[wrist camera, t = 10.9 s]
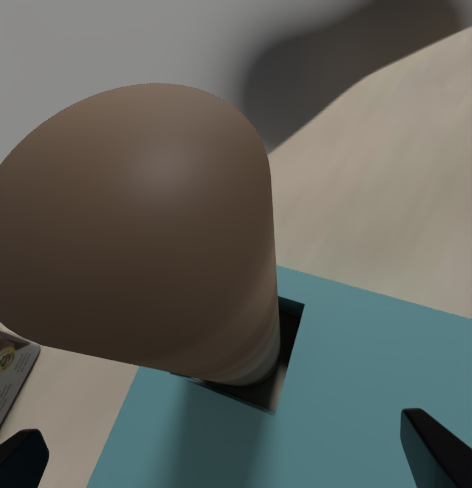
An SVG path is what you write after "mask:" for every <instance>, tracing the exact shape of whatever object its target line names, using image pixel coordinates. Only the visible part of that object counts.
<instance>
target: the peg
mask: <svg viewBox="0 0 472 488" xmlns="http://www.w3.org/2000/svg"><path fill="white" fill-rule="evenodd" d="M0 322H1V323H2V324H3V325H4V326H5V327H7V328H8V329H10V330H11V331H13V332H14V333H16V334H18V335H19V336H21V337H23V338H25V339H27V340H30V341H32V342H35V343H38V344H40V345H43V346H48V347H52V348H57V349H62V350H67V351H71V352H76V353H81V354H86V355H90V356H95V357H100V358H105V359H109V360H114V361H119V362H123V363H128V364H133V365H138V366H142V367H147V368H152V369H157V370H161V371H166V372H171V373H176V374H180V375H185V376H190V377H195V378H199V379H204V380H209V381H213V382H218V383H223V384H228V385H232V386H237V387H252V386H256V385H258V384H260V383H262V382H264V381H265V380H266V379H268V378H269V377H270V376H271V375H272V373H273V372H274V371H275V369H276V367H277V365H278V362H279V359H280V354H281V342H280V325H279V308H278V291H277V274H276V257H275V239H274V222H273V205H272V188H271V174H270V167H269V161H268V157H267V154H266V151H265V148H264V145H263V143H262V141H261V139H260V137H259V135H258V133H257V131H256V130H255V129H254V127H253V126H252V125H251V123H250V122H249V121H248V119H247V118H246V117H245V116H243V115H242V114H241V113H240V112H239V111H238V110H237V109H236V108H235V107H233V106H232V105H230V104H229V103H227V102H226V101H225V100H223V99H221V98H219V97H217V96H215V95H213V94H211V93H208V92H205V91H202V90H200V89H197V88H192V87H188V86H183V85H176V84H162V83H161V84H160V83H150V84H139V85H132V86H126V87H120V88H116V89H113V90H109V91H105V92H102V93H99V94H96V95H94V96H91V97H88V98H86V99H84V100H82V101H79V102H77V103H75V104H73V105H71V106H69V107H67V108H66V109H64V110H62V111H60V112H58V113H57V114H56V115H54V116H52V117H51V118H49V119H48V120H46V121H45V122H43V123H42V124H41V125H40V126H38V127H37V128H36V129H34V130H33V131H32V132H31V133H30V134H28V135H27V136H26V137H25V138H24V139H23V140H22V141H21V142H20V143H19V144H18V145H17V146H16V147H15V148H14V149H13V150H12V151H11V153H10V154H9V155H8V156H7V157H6V158H5V159H4V161H3V162H2V163H1V165H0Z"/></svg>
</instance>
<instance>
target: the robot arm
mask: <svg viewBox="0 0 472 488" xmlns="http://www.w3.org/2000/svg"><path fill="white" fill-rule="evenodd" d="M400 439H401V444H402V447H403V450H404V453H405V456H406V458H407V461H408V464H409V467H410V470H411V472H412V475H413V478H414V481H415V484H416V486H417V488H472V448H470V447H469V446H468V445H467V444H465V443H464V442H463V441H462V440H461V439H459V438H458V437H457V436H456V435H454V434H453V433H452V432H451V431H449V430H448V429H447V428H446V427H444V426H443V425H442V424H441V423H439V422H438V421H437V420H436V419H434V418H433V417H432V416H431V415H429V414H428V413H427V412H426V411H424V410H423V409H421V408H404V409H402V411H401V421H400ZM48 459H49V450H48V448H47V445H46V443H45V441H44V439H43V436H42V434H41V432H40V431H39V430H38V429H24V430H21V431H19V432H17V433H16V434H14V435H13V436H12V437H10V438H9V439H8V440H6V441H5V442H3V443H2V444H1V445H0V488H38V485H39V483H40V480H41V478H42V475H43V473H44V470H45V468H46V466H47V463H48Z"/></svg>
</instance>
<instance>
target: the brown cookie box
mask: <svg viewBox="0 0 472 488" xmlns="http://www.w3.org/2000/svg"><path fill="white" fill-rule="evenodd" d="M39 351H40V346H39V344H37V343H35V342H32V341H30V340H27V339H25V338H22V337H20V336H17V335H14V334H12V333H9V332H6V331H4V330H1V329H0V424H1V422H2V420H3V418H4V416H5V415H6V413H7V411H8V409H9V407H10V406H11V404H12V402H13V400H14V398H15V396H16V394H17V392H18V391H19V389H20V387H21V385H22V383H23V381H24V379H25V378H26V376H27V374H28V372H29V370H30V368H31V366H32V365H33V363H34V361H35V359H36V357H37V355H38V353H39Z"/></svg>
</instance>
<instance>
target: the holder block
mask: <svg viewBox="0 0 472 488" xmlns="http://www.w3.org/2000/svg"><path fill="white" fill-rule="evenodd" d="M276 274H277V291H278V308H279V311H282V312H285V313H289V314H292V315H295V316H298V317H301V321H300V325H299V328H298V332H297V336H296V339H295V343H294V347H293V350H292V354H291V358H290V361H289V365H288V369H287V372H286V376H285V380H284V383H283V387H282V391H281V394H280V398H279V402H278V405H277V409H276V412H273V411H270V410H268V409H266V408H263V407H261V406H258V405H256V404H253V403H251V402H248V401H246V400H243V399H241V398H238V397H236V396H233V395H231V394H228V393H226V392H223V391H221V390H218V389H216V388H213V387H211V386H208V385H206V384H203V383H201V382H198V381H196V380H194V379H191V378H189V377H187V376H185V375H180V374H176V373H171V372H166V371H161V370H157V369H152V368H147V367H142V366H140V367H139V369H138V371H137V373H136V376H135V378H134V380H133V383H132V385H131V387H130V389H129V392H128V394H127V396H126V398H125V401H124V403H123V405H122V408H121V410H120V412H119V414H118V417H117V419H116V421H115V423H114V426H113V428H112V430H111V432H110V435H109V437H108V439H107V442H106V444H105V446H104V448H103V451H102V453H101V455H100V457H99V460H98V462H97V464H96V467H95V469H94V471H93V473H92V476H91V478H90V480H89V482H88V485H87V487H86V488H417V486H416V484H415V481H414V478H413V475H412V472H411V470H410V467H409V464H408V461H407V458H406V456H405V453H404V450H403V447H402V444H401V439H400V421H401V411H402V409H404V408H421V409H423V410H424V411H426V412H427V413H428V414H429V415H431V416H432V417H433V418H434V419H436V420H437V421H438V422H439V423H441V424H442V425H443V426H444V427H446V428H447V429H448V430H449V431H451V432H452V433H453V434H454V435H456V436H457V437H458V438H459V439H461V440H462V441H463V442H464V443H465V444H467V445H468V446H469V447H470V448H472V319H468V318H465V317H461V316H458V315H454V314H450V313H447V312H443V311H440V310H436V309H432V308H429V307H425V306H422V305H418V304H414V303H411V302H407V301H404V300H400V299H396V298H393V297H389V296H386V295H382V294H378V293H375V292H371V291H368V290H364V289H360V288H357V287H353V286H349V285H346V284H342V283H339V282H335V281H331V280H328V279H324V278H321V277H317V276H313V275H310V274H306V273H303V272H299V271H295V270H292V269H288V268H285V267H281V266H277V265H276Z"/></svg>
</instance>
